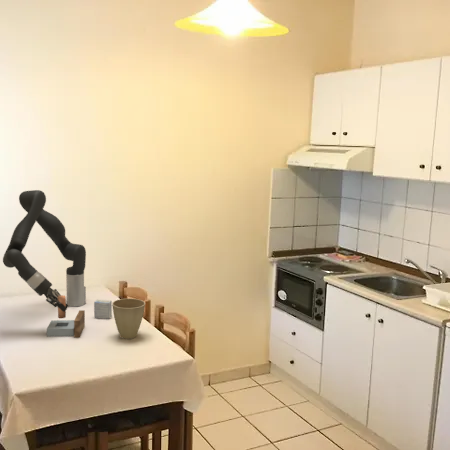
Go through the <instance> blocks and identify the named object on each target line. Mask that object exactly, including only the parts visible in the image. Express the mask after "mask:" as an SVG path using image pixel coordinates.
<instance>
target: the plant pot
mask: <svg viewBox="0 0 450 450" xmlns="http://www.w3.org/2000/svg"><path fill="white" fill-rule="evenodd" d="M145 307H146V302H145V301H144V300H142V299H138V298H129V297H128V298H121V299H120V298H119V299H116V300H114V301H113V302H112V311H113V312H112V314H113V316H114V317H113V318H114V322H115V324H116V325H115V326H116V329H117V332H118V334H119V337H120V338H122V339H125V340H129V339H134V338H136V337H137V335H138V333H139V330H140V328H141V327H140V326H141V323H142V320H143V317H144V313H145Z"/></svg>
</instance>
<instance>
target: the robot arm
mask: <svg viewBox="0 0 450 450" xmlns="http://www.w3.org/2000/svg"><path fill="white" fill-rule="evenodd" d="M46 197H47V196H46V194H45V192H43V190H39V189H38V190H37V189H36V190H32V189H31V190H25V191H22V192H21V193H20V194H19V195H18V201H19V205H21V208H22V209H23V210H24V211H25V212H26V215H25V216H24V217H23V219H22V220H20V221H19V223H18V224H17V225H16V226H15V228H14V230H13V232H12V235H11V238H10V241H9V243H8V247H7V248H6V250H5V252H4V254H3V257H2V262H3V264H4V266H5V267H6V268H10V269H11V268H15V269H16V270H17V272H18V273H17V274H18V276H19V277H20V278H21V279H22V280H23V281H24V282H25V283H26V284H27V285H28V286H29V287H30V288H31V289H32V290H33V291H34V292H35V293H36V294H37V295H38V296H40V297H41V296H43V295H44V296H45V298H46V299H45V301H46V302H48V303H49V304H50V305H51V306H53V307H54V308H56V307H57V308H58V307H59V308H60V309H61V310H62V311H63V312H65V311H67V310H68V308H69V307H81V306H84V305H86V304H87V293H86V291H87V289H86V285H85V269H86V263H87V262H86V258H87V252H86V248H85V246H84V245H83V244H77V243H74V242H73V243H72V242H71V241H70V240H69V239H68V238H67V236H66V227H65V225H64V224H63V223H62V222H61V220H60V219H59V218H58V217H57V216H56V215H54V214H53V213H50V212H48V211H46V210H45V209H44V207H45V205H46V204H47V203H46V202H47V198H46ZM35 223H37V224H38V225H39V227H41V228H42V230H43V232H45V234H46V235H47V237H48V238H50V239H51V241H52V242H53V244H55V246H56V247H57V249H58V250H59V252H60V253H61V255H62V257H63V258H64V259H65V260H67V261H71V262H72V266H69V267H67V268H66V269H65V271H66V275H65V276H66V278H65V279H66V283H65V284H66V307H65V306H64V305H63V304H62V303H61V302H60V301H59V300H58V299H59V298H58V296H61V294H60V292H59V291H58V290H57V289H56V288H55V289H53V288H51V287H52V286H53V284H52V282H50V280H49V279H47V277H45V275H43V274H42V273H41V272H40V271H38V270H37V269H36V268H35V267H34V266H33V265H32V264H31V263H30V261H29V260H28V259H27V257H26V256H25V255H24V253H23V250H24V249H25V247H26V246H27V243H28V239H29V237H30V235H31V232H32V229H33V227H34V226H35Z"/></svg>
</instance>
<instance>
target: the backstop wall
mask: <svg viewBox="0 0 450 450" xmlns="http://www.w3.org/2000/svg"><path fill="white" fill-rule="evenodd" d="M85 316H86V315H85V310H79V311H78V312H77V315H76V316H75V319H74V336H73V337H74V339H75V338H81V336H82V334H83V331H84V329H85V327H86V325H85V324H86V323H85V322H86V320H85V319H86V317H85Z"/></svg>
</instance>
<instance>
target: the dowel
mask: <svg viewBox="0 0 450 450" xmlns="http://www.w3.org/2000/svg"><path fill="white" fill-rule="evenodd" d="M60 295H61V294H60ZM58 298H59V299H58V300H59V301H60V302H61V303H62V304H63V305H64V306H65V307H66V304H67V295H64V294H63V295H61V296H58ZM66 311H67V310H66ZM66 311H65V312H63V311H62V310H61V309H60V308H59V307H57V318H58V319H65V318H66V315H67V314H66Z"/></svg>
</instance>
